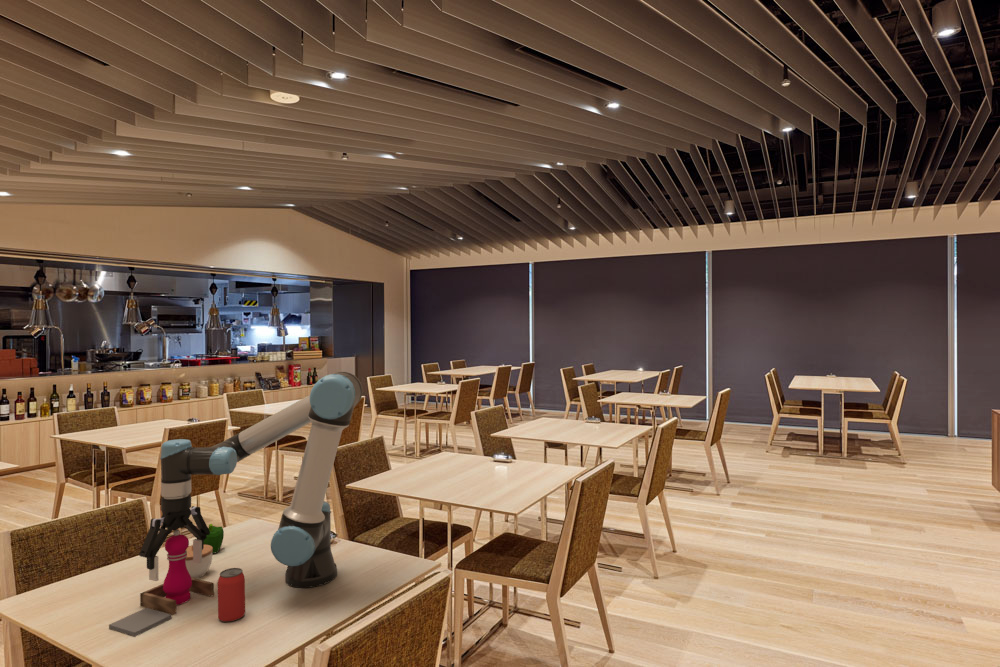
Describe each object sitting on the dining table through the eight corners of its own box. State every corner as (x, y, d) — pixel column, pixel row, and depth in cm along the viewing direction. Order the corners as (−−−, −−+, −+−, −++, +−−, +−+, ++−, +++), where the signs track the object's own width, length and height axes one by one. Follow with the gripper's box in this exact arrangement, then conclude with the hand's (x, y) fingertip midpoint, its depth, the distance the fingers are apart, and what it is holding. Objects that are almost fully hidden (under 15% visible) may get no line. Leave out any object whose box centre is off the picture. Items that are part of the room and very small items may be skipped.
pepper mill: (198, 596, 171) (197, 526, 171) (177, 608, 164) (175, 535, 164) (178, 593, 174) (177, 524, 173) (157, 604, 167) (155, 532, 167)
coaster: (171, 618, 158) (171, 614, 158) (134, 636, 149) (134, 632, 149) (146, 611, 163) (146, 607, 162) (109, 628, 153) (109, 624, 153)
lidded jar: (220, 568, 191) (219, 539, 191) (199, 583, 180) (199, 552, 180) (188, 567, 192) (187, 538, 192) (166, 582, 181) (166, 551, 181)
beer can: (228, 625, 154) (227, 579, 154) (212, 619, 158) (212, 573, 158) (250, 614, 160) (249, 570, 160) (235, 608, 164) (234, 565, 163)
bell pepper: (200, 548, 209) (199, 520, 209) (225, 546, 211) (225, 518, 211) (194, 557, 201) (193, 527, 201) (220, 555, 203) (220, 525, 203)
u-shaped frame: (213, 595, 172) (213, 582, 172) (172, 615, 160) (172, 601, 160) (182, 587, 178) (182, 575, 178) (140, 606, 166) (140, 593, 166)
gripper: (204, 483, 182) (205, 553, 182) (123, 505, 159) (124, 585, 159) (222, 486, 178) (222, 557, 179) (142, 509, 156) (143, 590, 156)
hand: (176, 570), depth 169 cm, fingers open, 13 cm apart
